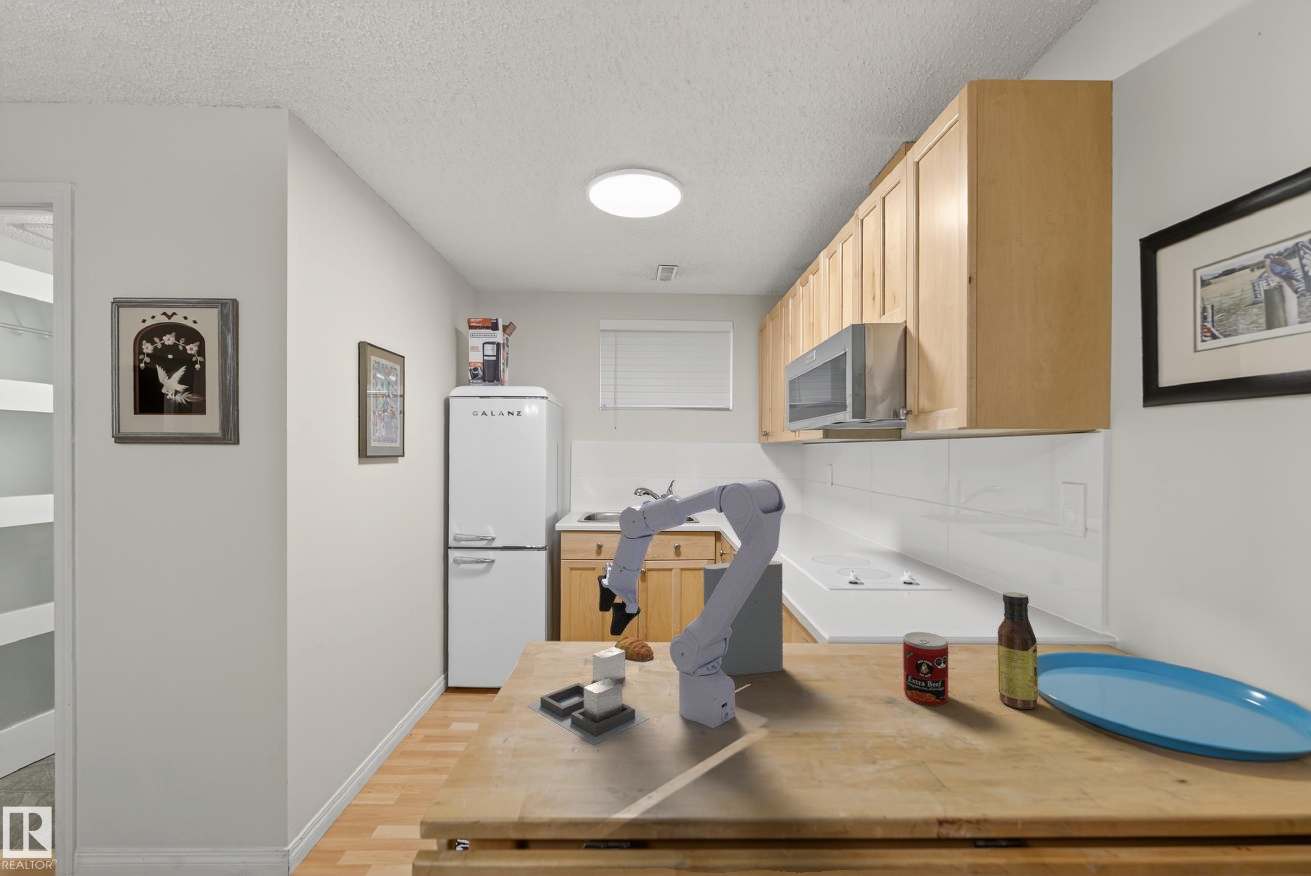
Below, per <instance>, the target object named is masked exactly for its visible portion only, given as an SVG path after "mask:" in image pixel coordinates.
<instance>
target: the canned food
mask: <svg viewBox="0 0 1311 876" xmlns="http://www.w3.org/2000/svg"><path fill="white" fill-rule="evenodd" d="M902 647H903V648H902V649H903V650H902V651H903V652H902V653H903V654H902V657H903V661H902V662H903V663H902V664H903V691H904V695H905V697H907V699H908V700H910V701H911V702H915V703H917V704H920V705H925V706H940V705H943V704H946V702H947V701H948V698H949V641H948V639H947V638H945V637H943V636H941V635H939V634H935V633H931V632H924V631H921V632H920V631H913V632H908V633H906V634H904V635H903V643H902Z"/></svg>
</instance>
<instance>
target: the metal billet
mask: <svg viewBox="0 0 1311 876" xmlns="http://www.w3.org/2000/svg"><path fill="white" fill-rule="evenodd" d="M607 678H611V679H613V680H615V681H617V682H618V681H619V680H622V679H624V678H626V658H625V651H624V650H621V649H618V648H616V647H615V646H612V647H609V648H605V649H603V650H600V651H597V652H594V653H592V681H593V682H594V683H596V682H599V681H601V680H604V679H607Z"/></svg>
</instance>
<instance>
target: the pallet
mask: <svg viewBox="0 0 1311 876" xmlns="http://www.w3.org/2000/svg"><path fill="white" fill-rule="evenodd" d="M586 686H587V685H585V684H583V683H581V682H577V683H574V684H572V685H569V686H566V687H564V688H560V689H558V690H555V691H552V692H550V693H547V694H544V695H541V696H540V700H539V701H536V702H534V703H531V704H528V705H527V708H529V709H531V710H533V711H534V712H536V713H538V714H540V715H541V716H543V717H545V718H547V719H548V720H550V721H552V722H554V723H555V724H557V725H559V726H561V727H563V728H564V729H566V730H568V731H569V732H571V733H572V734H575V735H577V736H578V737H580V738H581V739H583V740H585V741H586V742H588V743H590V744H591V745H594V746H596V745H598V744H600V743H602V742H603V741H606V740H609V739H610V738H612V737H615V736H617V735H618V734H621V733H623V732H625V731H627V730H628V729H630V728H633V727H635V726H638V725H639V724H642V723H643V722H645V721H647V720H649V719H650V717H647V716H645V715H643V714H641V713H639V712H637V711H636V708H634V707H631V706H629V705H628V704H625V703H623V702H622V712H621V713H619V714H617V715H614V716H612V717H610V718H608V719H606V720H603V721H601V722H599V723H595V722H593V721H591V720H589V719H587V718H585V717H584V687H586Z"/></svg>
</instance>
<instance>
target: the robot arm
mask: <svg viewBox="0 0 1311 876" xmlns="http://www.w3.org/2000/svg"><path fill="white" fill-rule="evenodd" d="M786 508H787V507H786V504H785V500H784V497H783V494H782V492H781V489H780V487H779V486H778V485H777V484H776V483H775V482H774V481H772V480H770V479H765V478H763V479H758V480H755V481H746V482H738V481H737V482H732V483H729V484H721V485H714V486H712V487H709V488H707V489H704V490H702V491H699V492H696V493H693V494H691V495H688V496H686V497H683V498H682V497H681V496H679V495H677V494H671V492H666V493H663V494H660V498H659V499H656V500H652V501H651V500H650V499H649V500H644V501H642V505H638V506H627V507H626V508H625V509H623V510H622V511H621V513H620V515H619V519H618V523H619V524H618V525H619V528H620V531H621V533H620V537H619V541H618V544H617V548H616V550H615V554H614V557H613V560H612V562H606V563H605V566H604V569H603V572H604V575H601V574H600V575H598V576H597V581H598V587H599V601H598V602H599V603H598V609H599V612H604V613H605V612H606V613H607V612H610V611H611V612H612V616H611V618H612V619H611V624H610V627H609V628H610V631H609V633H610V635H611V636H612V637H613V636H614V637H615V636H616V637H617V636H622V634H623V632H624V631H625V629H626V628H627V627H628V625H629V624H630V623H631V622H632V620H633V619H634V618H636V617H637V616H639V615H640V614H641V611H642V609H641V608H640V607H641V606H640V604H639V601H638V585H637V584H638V581H639V578H640V574H641V571H642V569H643V565H644V563H645V558H646V556H647V552H648V549H649V546H650V543H651V542H652V541H653V538H654V537H655V535H657V534H659V533H660V532H662V531H665V530H669V529H673V528H676V527H680V526H682V525H684V524H685V523H686V522H687V520H688V516H691V515H694V514H698V513H702V512H706V511H710V510H714V509H715V511H716V512H717V513H719V514H721V513H723V514H724V516H725V518H726V520H727V522H728V524H729V525H730V527H731V528H732V530H733V532H734V533H735V535H736V537H737V539H738V541H740V546H739V548H738V550H736V551H737V553H736V555H735V556H734V555H733V557H732V560H731V561H730V562H729V563H730V565H729V566H728V568H727V570H726V571H725V573H724V575H723V576H722V578H721V580H720V581H719V583H718V585H717V587H716V588H715V590H714V592H713V593H712V595H711V597H710V598H709V600H708V602H707V603H706V605H705V607H704V606H703V608H702V610H701V612H700V613H699V615H698V616H697V617H696V618H695V619H693V620H692V621H690V623H689V624H688V625H686V626H685V627H684V629H683V631H682V632H681V633H680V634H677V635H676V636H674V637H673V638H672V639H671V642H670V645H669V654H670V659H671V660H672V662H673V665H674V666H675V667H676V670H677V671H678V690H679V691H678V705H679V706H678V709H679V710H678V711H679V714H680V716H681V717H683V718H684V719H686V720H687V721H688V720H689V721H693V722H696V723H700V724H702V725H705V726H707V727H709V728H711V729H715V728H717V727H719V726H720V725H722V724H724V723H725V722H728V721H729V720H731V719H733V718H735V717H736V685H735V682H734V680H733V679H732V677H731V676H730V675H726V674H725V673H724V672H723V671H722V670H721V668H720V664H722V656H724V655H725V654H726V652H727V649H728V641H729V638H730V636H731V634H732V630H731V628H730V625H731V623H732V622H733V620H734V619H735V617H736V615H737V614H738V612H739V611H740V609H741V607H742V606H743V604H744V603H745V601H746V599H747V598H748V596H749V595H750V593H751V591H752V590H753V588H754V587H755V585H756V583H757V582H758V580H759V579H760V577H761V575H762V574H763V572H764V571H765V569H766V567H767V566H768V564H769V563H770V561H772V559H773V558H774V557H775V555H776V553H777V551H778V549H779V544H780V534H781V533H780V531H781V519H782V515H783V514H784V512H785V510H786ZM617 597H618V598H619V599H620V600H621V602H615V600H616V598H617Z"/></svg>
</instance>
